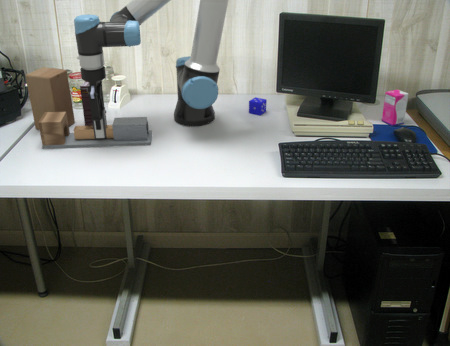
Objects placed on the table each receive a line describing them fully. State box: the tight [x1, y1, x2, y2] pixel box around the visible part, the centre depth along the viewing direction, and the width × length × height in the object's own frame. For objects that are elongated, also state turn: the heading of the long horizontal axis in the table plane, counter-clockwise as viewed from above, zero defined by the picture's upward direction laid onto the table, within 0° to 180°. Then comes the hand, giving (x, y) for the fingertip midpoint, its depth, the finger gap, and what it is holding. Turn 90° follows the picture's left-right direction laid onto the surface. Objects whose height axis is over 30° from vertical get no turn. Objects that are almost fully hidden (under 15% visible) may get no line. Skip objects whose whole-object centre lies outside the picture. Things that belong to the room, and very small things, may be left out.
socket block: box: [38, 112, 71, 146], centre depth 166 cm, size 7×9×8 cm
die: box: [248, 97, 267, 116], centre depth 190 cm, size 5×5×5 cm
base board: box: [41, 129, 153, 150], centre depth 169 cm, size 35×10×1 cm, turn 94°
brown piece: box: [73, 106, 114, 139], centre depth 166 cm, size 22×4×10 cm, turn 94°
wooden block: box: [25, 66, 76, 130], centre depth 175 cm, size 10×10×20 cm
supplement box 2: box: [381, 89, 409, 127], centre depth 180 cm, size 6×6×12 cm
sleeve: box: [111, 116, 150, 141], centre depth 168 cm, size 11×7×6 cm, turn 94°
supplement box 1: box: [79, 81, 93, 126], centre depth 177 cm, size 9×5×16 cm, turn 178°
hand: (101, 134), depth 168 cm, fingers closed on brown piece, 3 cm apart
